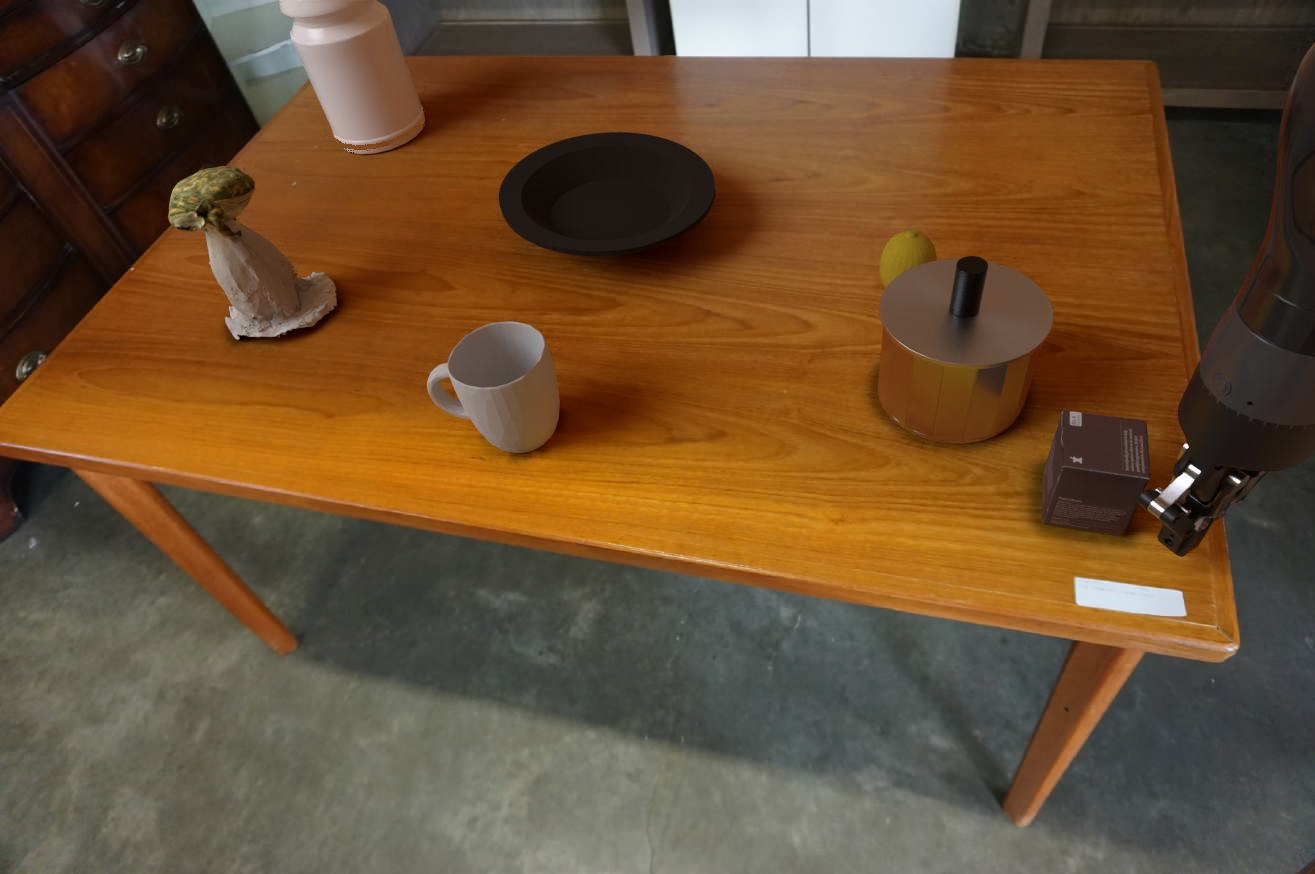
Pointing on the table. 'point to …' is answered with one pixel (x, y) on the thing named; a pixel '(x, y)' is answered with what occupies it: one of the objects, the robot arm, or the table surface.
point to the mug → (502, 385)
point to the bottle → (356, 69)
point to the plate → (607, 194)
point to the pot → (951, 395)
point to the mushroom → (247, 257)
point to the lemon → (905, 254)
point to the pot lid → (966, 313)
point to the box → (1095, 472)
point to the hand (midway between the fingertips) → (1176, 543)
